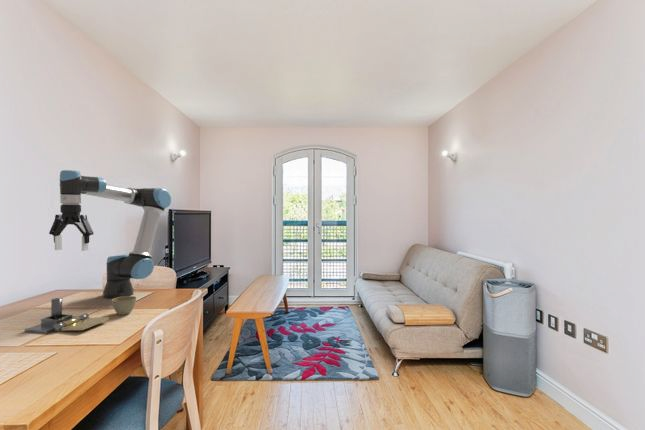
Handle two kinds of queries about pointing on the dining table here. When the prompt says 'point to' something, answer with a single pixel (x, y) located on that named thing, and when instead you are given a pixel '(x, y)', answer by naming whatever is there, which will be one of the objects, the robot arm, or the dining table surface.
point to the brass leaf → (82, 323)
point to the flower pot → (124, 304)
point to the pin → (56, 308)
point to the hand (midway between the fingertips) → (71, 250)
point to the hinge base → (53, 324)
